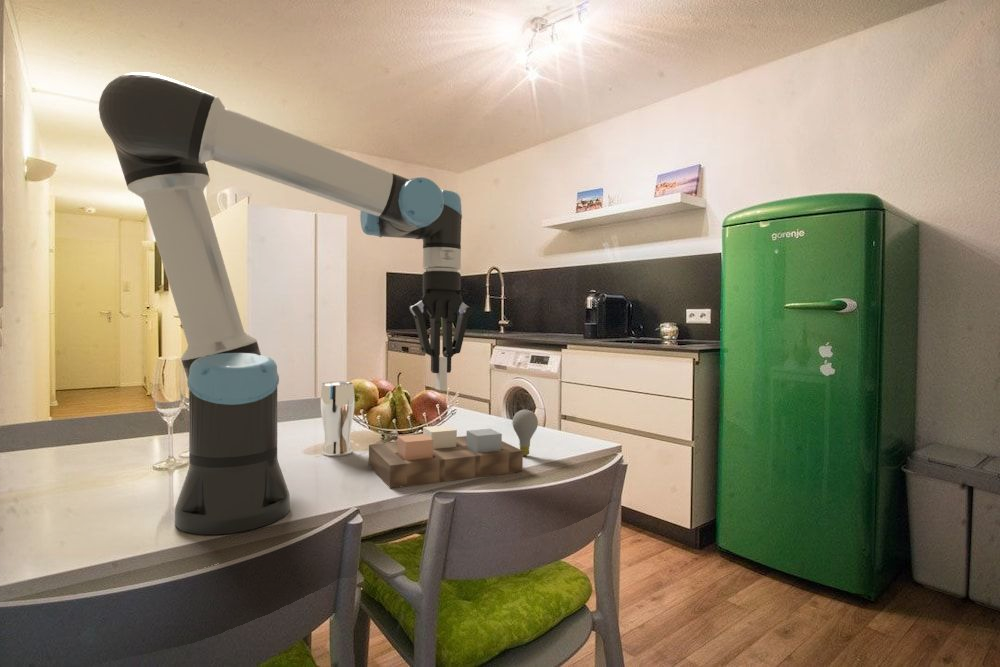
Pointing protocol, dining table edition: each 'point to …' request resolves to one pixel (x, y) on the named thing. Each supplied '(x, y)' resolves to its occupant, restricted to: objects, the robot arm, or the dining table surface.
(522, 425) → the light bulb
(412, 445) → the key terracotta
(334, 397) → the beer glass
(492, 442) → the key slate
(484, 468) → the brown wooden base
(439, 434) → the key ivory
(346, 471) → the dining table surface
